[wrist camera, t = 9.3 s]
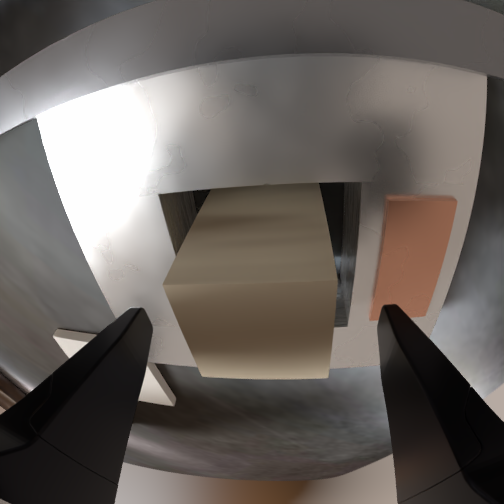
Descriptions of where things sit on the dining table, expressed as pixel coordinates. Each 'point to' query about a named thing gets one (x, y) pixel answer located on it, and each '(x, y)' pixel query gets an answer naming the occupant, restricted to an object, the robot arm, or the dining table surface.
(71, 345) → the white square tile
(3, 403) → the plant saucer
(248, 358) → the birch peg
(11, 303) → the dining table surface
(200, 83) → the plate
